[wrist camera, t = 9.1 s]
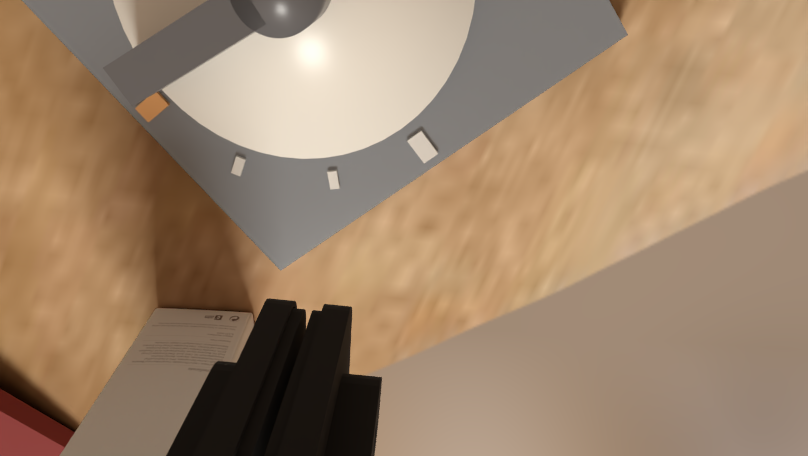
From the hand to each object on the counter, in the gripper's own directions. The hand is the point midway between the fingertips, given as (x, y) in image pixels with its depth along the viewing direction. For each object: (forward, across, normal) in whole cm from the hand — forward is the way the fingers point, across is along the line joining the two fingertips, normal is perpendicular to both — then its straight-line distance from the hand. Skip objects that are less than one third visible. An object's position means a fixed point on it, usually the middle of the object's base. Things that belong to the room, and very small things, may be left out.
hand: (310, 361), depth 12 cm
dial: (+19, +4, -5) cm, 20 cm away
